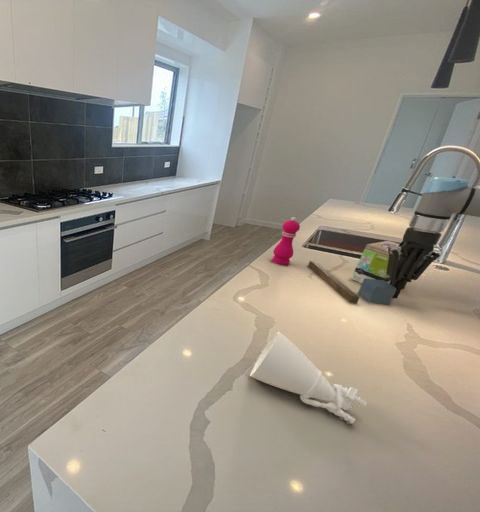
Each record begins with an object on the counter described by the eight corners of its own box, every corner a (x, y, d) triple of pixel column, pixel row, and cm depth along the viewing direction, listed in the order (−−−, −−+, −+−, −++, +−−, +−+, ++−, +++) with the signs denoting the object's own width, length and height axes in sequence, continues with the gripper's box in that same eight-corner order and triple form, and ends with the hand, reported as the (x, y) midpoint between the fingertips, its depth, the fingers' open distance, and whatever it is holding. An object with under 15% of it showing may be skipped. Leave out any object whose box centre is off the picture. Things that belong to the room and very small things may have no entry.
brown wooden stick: (356, 303, 98) (359, 297, 97) (350, 302, 98) (353, 296, 97) (313, 266, 125) (315, 260, 124) (308, 265, 125) (309, 260, 124)
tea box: (381, 291, 106) (399, 253, 100) (349, 279, 115) (364, 243, 109) (403, 285, 112) (421, 248, 106) (371, 273, 120) (387, 239, 114)
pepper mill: (271, 257, 132) (284, 213, 125) (290, 261, 129) (305, 216, 121) (269, 262, 127) (282, 217, 119) (289, 267, 123) (304, 220, 115)
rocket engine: (390, 385, 53) (284, 325, 61) (362, 443, 50) (255, 372, 59) (358, 389, 62) (271, 338, 71) (333, 438, 60) (246, 378, 69)
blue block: (389, 304, 98) (396, 288, 96) (368, 302, 99) (376, 286, 97) (376, 295, 103) (383, 280, 101) (357, 293, 104) (364, 278, 102)
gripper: (438, 227, 93) (405, 293, 102) (391, 224, 95) (362, 288, 104) (460, 235, 86) (422, 305, 95) (409, 231, 88) (377, 299, 98)
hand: (391, 296), depth 100 cm, fingers closed
